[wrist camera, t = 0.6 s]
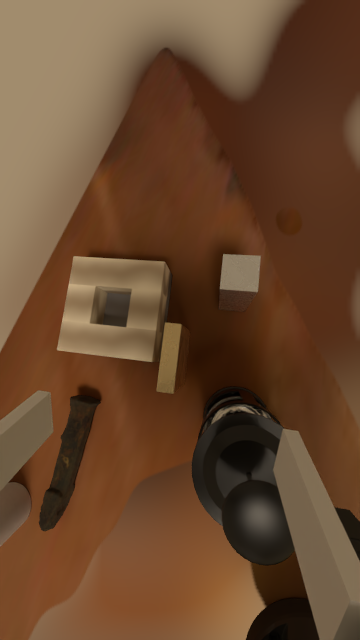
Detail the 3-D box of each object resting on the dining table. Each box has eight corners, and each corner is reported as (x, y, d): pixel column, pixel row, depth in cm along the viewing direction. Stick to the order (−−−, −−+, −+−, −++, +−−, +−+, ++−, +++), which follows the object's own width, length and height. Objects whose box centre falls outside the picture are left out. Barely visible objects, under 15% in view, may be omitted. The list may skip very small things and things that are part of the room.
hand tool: (82, 391, 40) (64, 395, 35) (104, 398, 39) (89, 404, 35) (44, 511, 38) (21, 532, 34) (66, 521, 37) (46, 544, 33)
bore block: (161, 361, 38) (151, 362, 33) (79, 350, 41) (57, 350, 35) (172, 275, 40) (164, 261, 34) (93, 270, 42) (73, 256, 37)
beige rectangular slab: (184, 383, 37) (173, 393, 28) (171, 382, 38) (156, 391, 28) (190, 332, 38) (181, 324, 29) (177, 330, 39) (164, 322, 29)
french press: (191, 439, 36) (144, 576, 14) (207, 377, 37) (187, 408, 15) (273, 468, 34) (377, 686, 11) (288, 400, 35) (410, 479, 12)
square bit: (244, 311, 38) (257, 291, 26) (218, 309, 38) (219, 289, 27) (246, 286, 38) (260, 256, 26) (220, 284, 39) (223, 254, 27)
